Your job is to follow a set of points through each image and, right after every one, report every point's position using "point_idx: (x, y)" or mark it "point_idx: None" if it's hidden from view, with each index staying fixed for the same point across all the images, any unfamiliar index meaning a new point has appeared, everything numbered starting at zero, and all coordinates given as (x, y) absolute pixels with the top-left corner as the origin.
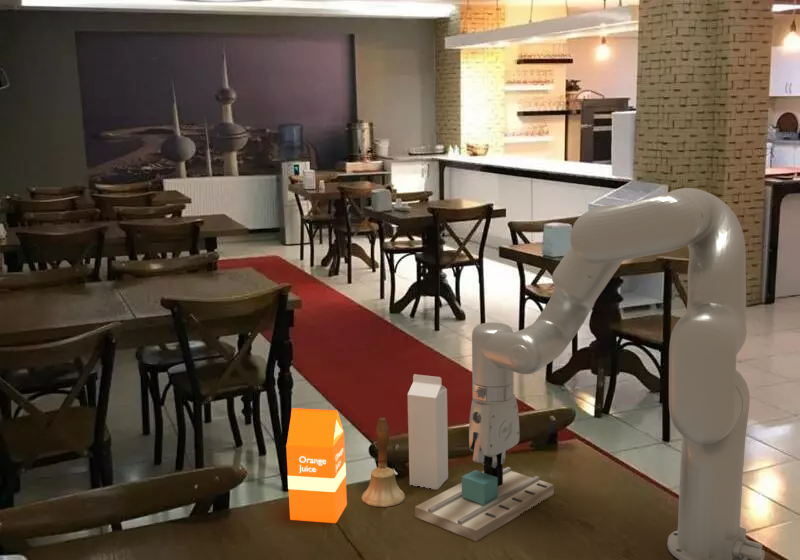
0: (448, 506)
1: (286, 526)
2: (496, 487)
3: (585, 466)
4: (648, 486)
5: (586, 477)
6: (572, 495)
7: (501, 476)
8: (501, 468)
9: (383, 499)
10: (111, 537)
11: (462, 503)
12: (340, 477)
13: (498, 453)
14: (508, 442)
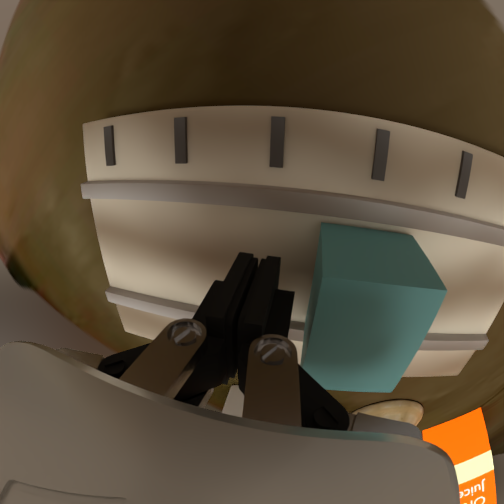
0: (444, 325)
1: (487, 424)
2: (330, 247)
3: (4, 173)
4: (7, 36)
5: (20, 135)
6: (84, 81)
7: (239, 275)
8: (225, 305)
9: (416, 418)
10: (497, 453)
11: None
12: (459, 472)
13: (309, 438)
14: (87, 444)
